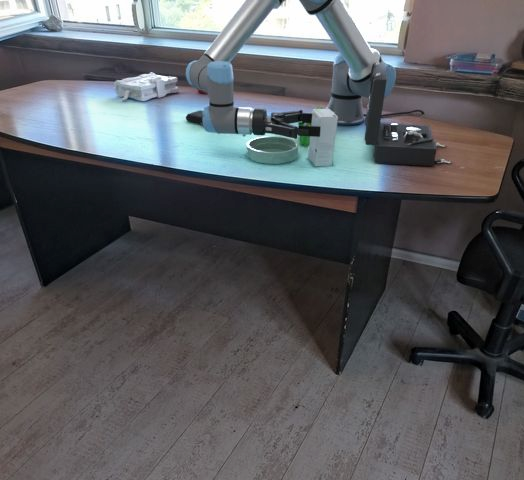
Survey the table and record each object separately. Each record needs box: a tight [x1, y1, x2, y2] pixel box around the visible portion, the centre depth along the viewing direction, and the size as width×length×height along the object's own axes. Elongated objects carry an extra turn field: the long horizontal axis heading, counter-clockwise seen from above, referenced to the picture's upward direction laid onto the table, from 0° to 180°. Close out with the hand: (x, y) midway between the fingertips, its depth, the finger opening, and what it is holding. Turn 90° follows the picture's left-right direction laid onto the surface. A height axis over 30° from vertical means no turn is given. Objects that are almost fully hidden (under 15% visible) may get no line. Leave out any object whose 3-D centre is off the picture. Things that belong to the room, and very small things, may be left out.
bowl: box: [246, 135, 299, 165], centre depth 157 cm, size 17×17×4 cm
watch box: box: [364, 62, 451, 167], centre depth 153 cm, size 26×28×24 cm
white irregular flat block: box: [113, 71, 179, 102], centre depth 217 cm, size 19×28×8 cm
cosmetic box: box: [307, 108, 338, 167], centre depth 149 cm, size 8×6×15 cm
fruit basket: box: [297, 106, 325, 146], centre depth 166 cm, size 11×9×11 cm
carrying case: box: [185, 109, 203, 126], centre depth 185 cm, size 11×3×15 cm
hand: (321, 125), depth 147 cm, fingers open, 13 cm apart
